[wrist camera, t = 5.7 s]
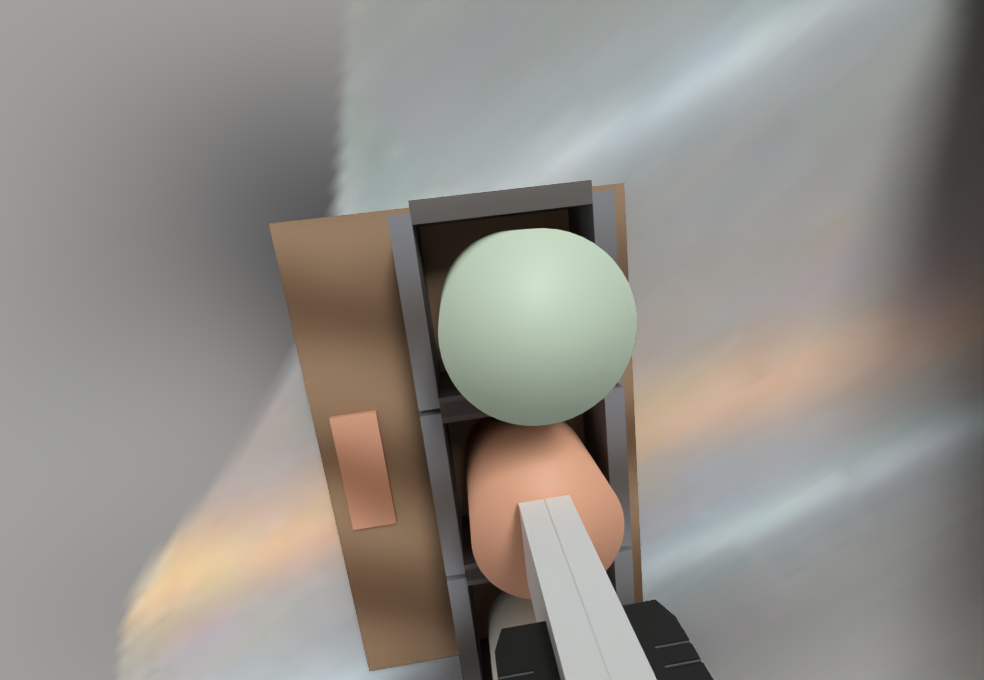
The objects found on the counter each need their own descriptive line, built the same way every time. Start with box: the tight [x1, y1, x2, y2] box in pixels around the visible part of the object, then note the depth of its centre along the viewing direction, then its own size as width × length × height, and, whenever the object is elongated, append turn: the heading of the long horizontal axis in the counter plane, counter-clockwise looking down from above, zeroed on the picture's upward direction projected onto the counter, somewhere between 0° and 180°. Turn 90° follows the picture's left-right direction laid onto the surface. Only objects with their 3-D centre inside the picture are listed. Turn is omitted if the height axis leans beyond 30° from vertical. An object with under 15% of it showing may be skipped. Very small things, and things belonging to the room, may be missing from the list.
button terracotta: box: [465, 416, 624, 600], centre depth 16 cm, size 5×5×5 cm
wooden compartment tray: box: [269, 180, 643, 680], centre depth 18 cm, size 20×13×4 cm, turn 7°
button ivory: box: [487, 591, 537, 680], centre depth 16 cm, size 5×5×5 cm
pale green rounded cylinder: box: [438, 228, 637, 426], centre depth 13 cm, size 5×5×5 cm
